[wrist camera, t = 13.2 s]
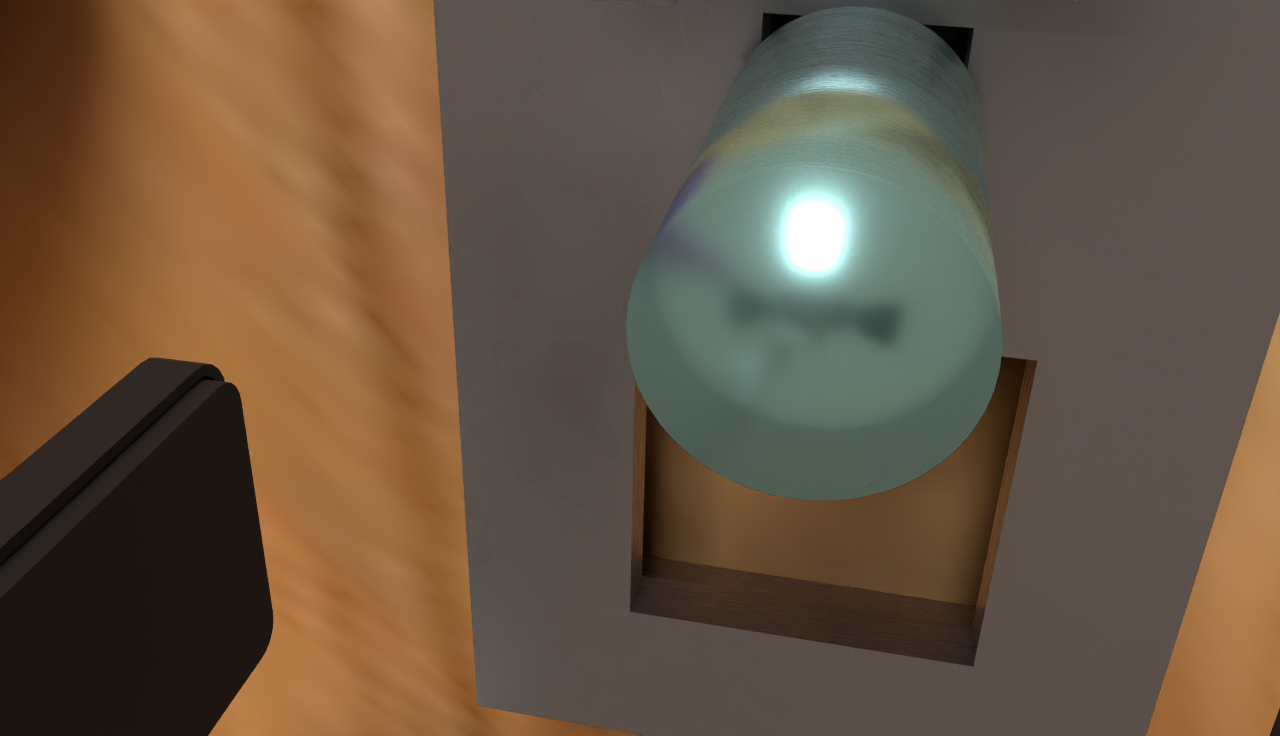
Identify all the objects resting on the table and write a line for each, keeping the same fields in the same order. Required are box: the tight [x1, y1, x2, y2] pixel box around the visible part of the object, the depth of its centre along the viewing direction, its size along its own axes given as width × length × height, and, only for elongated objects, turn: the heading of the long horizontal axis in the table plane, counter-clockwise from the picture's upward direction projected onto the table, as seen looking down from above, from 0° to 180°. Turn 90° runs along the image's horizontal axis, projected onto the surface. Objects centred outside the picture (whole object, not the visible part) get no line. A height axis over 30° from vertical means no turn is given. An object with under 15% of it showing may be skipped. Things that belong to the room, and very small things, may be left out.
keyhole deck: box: [434, 0, 1280, 736], centre depth 24 cm, size 20×14×4 cm
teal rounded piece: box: [626, 6, 1002, 501], centre depth 18 cm, size 5×5×12 cm
